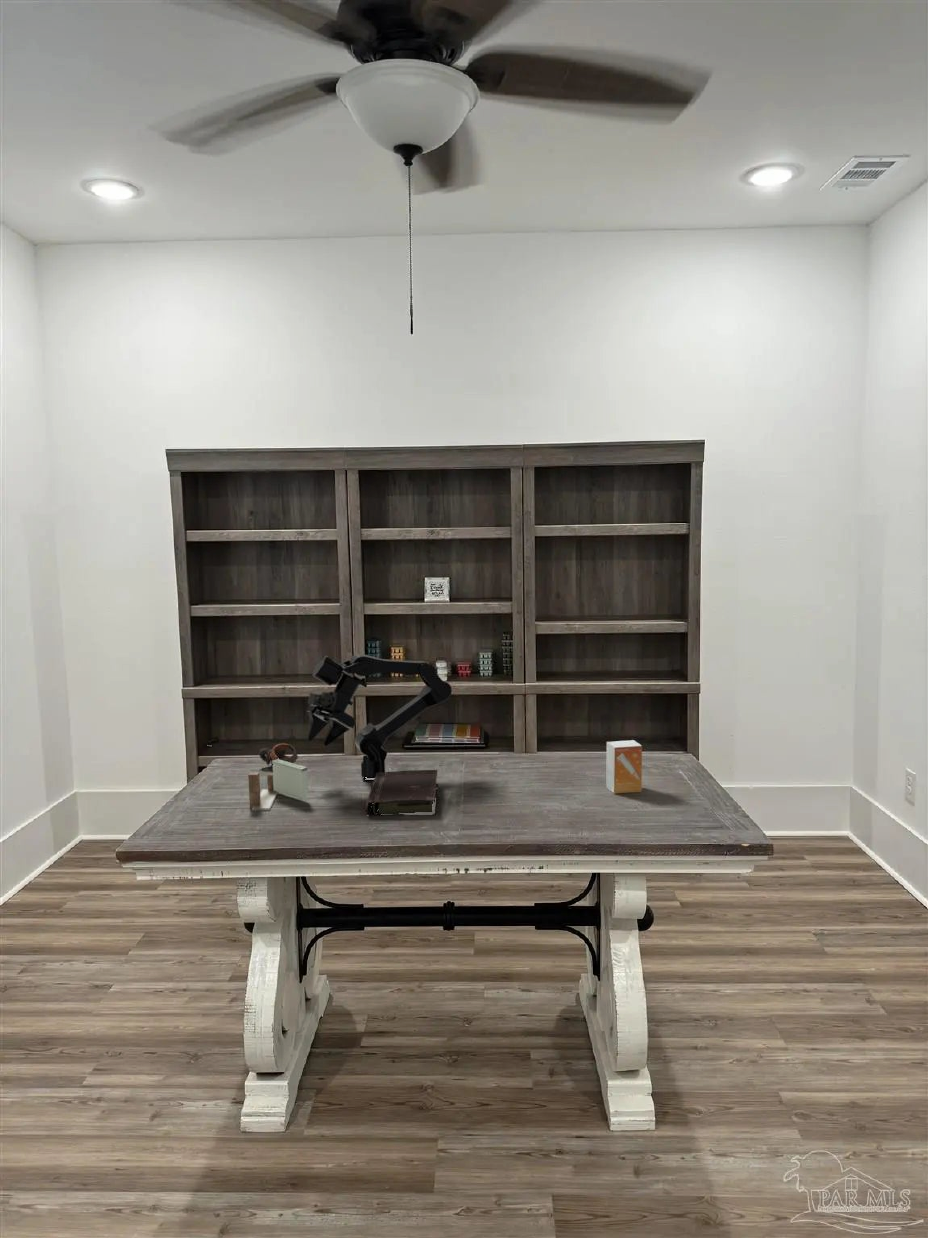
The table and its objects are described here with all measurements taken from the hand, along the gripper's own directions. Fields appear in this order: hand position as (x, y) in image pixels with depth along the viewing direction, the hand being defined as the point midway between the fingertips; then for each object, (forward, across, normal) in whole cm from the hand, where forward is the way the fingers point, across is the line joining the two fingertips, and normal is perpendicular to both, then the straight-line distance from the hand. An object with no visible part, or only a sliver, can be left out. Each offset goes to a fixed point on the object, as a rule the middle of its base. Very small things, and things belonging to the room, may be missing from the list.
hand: (316, 742), depth 243 cm
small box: (-25, +55, +61) cm, 86 cm away
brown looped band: (+10, -28, +8) cm, 30 cm away
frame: (+20, -1, -5) cm, 21 cm away
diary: (+4, +23, +20) cm, 31 cm away
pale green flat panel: (+16, +2, 0) cm, 16 cm away
